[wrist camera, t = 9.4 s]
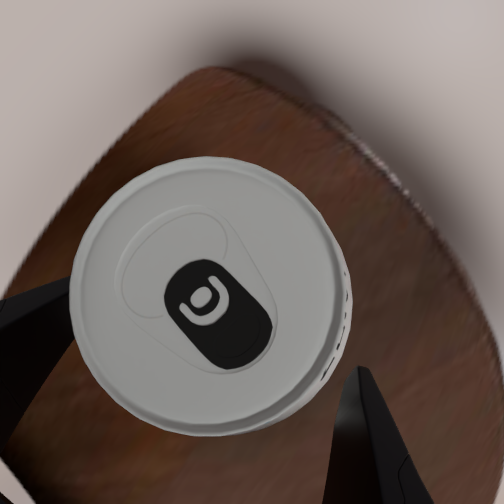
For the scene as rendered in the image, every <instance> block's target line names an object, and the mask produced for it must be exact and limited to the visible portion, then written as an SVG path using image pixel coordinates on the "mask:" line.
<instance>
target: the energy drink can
mask: <svg viewBox="0 0 504 504" xmlns="http://www.w3.org/2000/svg"><path fill="white" fill-rule="evenodd" d="M352 303H353V301H352V292H351V283H350V275H349V272H348V268H347V265H346V262H345V259H344V256H343V253H342V250H341V248H340V246H339V244H338V243H337V241H336V239H335V237H334V236H333V234H332V232H331V230H330V229H329V227H328V226H327V224H326V222H325V221H324V219H323V217H322V216H321V214H320V213H319V211H318V210H317V209H316V208H315V207H314V206H313V205H312V203H311V202H310V201H309V200H308V199H307V198H306V197H305V196H304V194H303V193H302V192H300V191H299V190H298V189H296V188H295V187H294V186H292V185H291V184H290V183H288V182H287V181H286V180H284V179H283V178H282V177H280V176H278V175H276V174H274V173H272V172H270V171H268V170H266V169H264V168H262V167H260V166H258V165H255V164H251V163H248V162H244V161H240V160H236V159H232V158H223V157H208V156H204V157H195V158H186V159H179V160H176V161H173V162H169V163H166V164H163V165H160V166H157V167H154V168H152V169H151V170H149V171H147V172H145V173H143V174H141V175H139V176H137V177H135V178H134V179H132V180H131V181H130V182H128V183H127V184H126V185H124V186H123V187H122V188H121V189H119V190H118V191H117V192H116V193H114V194H113V195H112V196H111V197H110V199H109V200H108V201H107V202H106V203H105V204H104V205H103V206H102V208H101V209H100V210H99V211H98V212H97V213H96V215H95V217H94V218H93V220H92V221H91V223H90V225H89V226H88V228H87V230H86V231H85V233H84V235H83V237H82V240H81V242H80V245H79V248H78V250H77V253H76V255H75V258H74V263H73V268H72V273H71V279H70V293H69V305H70V315H71V321H72V326H73V332H74V336H75V339H76V341H77V344H78V347H79V349H80V352H81V354H82V357H83V359H84V361H85V363H86V364H87V366H88V368H89V369H90V371H91V373H92V374H93V376H94V377H95V379H96V380H97V382H98V383H99V384H100V385H101V387H102V388H103V389H104V390H105V391H106V392H107V393H108V394H109V395H110V396H111V397H112V398H113V399H114V400H115V401H116V402H117V403H118V404H119V405H121V406H122V407H123V408H125V409H126V410H128V411H129V412H130V413H132V414H133V415H135V416H136V417H138V418H139V419H141V420H143V421H145V422H148V423H150V424H152V425H154V426H157V427H159V428H161V429H164V430H167V431H171V432H176V433H180V434H185V435H190V436H224V435H239V434H243V433H248V432H252V431H256V430H261V429H264V428H266V427H268V426H270V425H273V424H275V423H277V422H279V421H281V420H283V419H285V418H287V417H289V416H290V415H292V414H293V413H294V412H296V411H297V410H299V409H300V408H301V407H302V406H304V405H305V404H306V403H308V402H309V401H310V400H311V399H312V398H313V397H314V396H315V395H316V393H317V392H318V391H319V390H320V389H321V388H322V387H323V385H324V384H325V383H326V382H327V381H328V380H329V378H330V376H331V374H332V373H333V371H334V369H335V367H336V365H337V364H338V362H339V360H340V358H341V356H342V354H343V351H344V347H345V344H346V341H347V338H348V334H349V331H350V325H351V314H352Z"/></svg>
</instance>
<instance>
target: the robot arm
mask: <svg viewBox="0 0 504 504" xmlns="http://www.w3.org/2000/svg"><path fill="white" fill-rule="evenodd" d="M70 279H71V276H68V277H65V278H62V279H59V280H57V281H54V282H51V283H48V284H45V285H42V286H39V287H37V288H34V289H31V290H28V291H25V292H23V293H20V294H17V295H14V296H11V297H9V298H7V299H3V300H0V453H1V452H2V450H3V449H4V447H5V445H6V443H7V442H8V440H9V438H10V436H11V435H12V433H13V431H14V430H15V428H16V426H17V425H18V423H19V421H20V420H21V418H22V416H23V415H24V412H25V411H26V410H27V408H28V406H29V405H30V403H31V402H32V400H33V399H34V397H35V395H36V394H37V392H38V391H39V389H40V388H41V386H42V385H43V383H44V382H45V380H46V379H47V377H48V376H49V374H50V373H51V371H52V370H53V368H54V367H55V365H56V364H57V363H58V361H59V360H60V358H61V357H62V355H63V354H64V353H65V351H66V350H67V348H68V347H69V346H70V344H71V343H72V341H73V340H74V339H75V336H74V332H73V326H72V321H71V315H70V305H69V293H70ZM408 453H409V452H408V450H407V448H406V446H405V443H404V441H403V439H402V437H401V435H400V432H399V430H398V428H397V426H396V424H395V422H394V419H393V417H392V415H391V413H390V411H389V409H388V407H387V405H386V403H385V400H384V398H383V396H382V394H381V392H380V390H379V388H378V386H377V384H376V382H375V380H374V378H373V376H372V374H371V372H370V370H369V369H368V368H366V367H362V366H356V367H355V368H354V369H353V371H352V372H351V373H350V375H349V376H348V377H347V379H346V380H345V383H344V386H343V390H342V395H341V399H340V404H339V408H338V412H337V416H336V420H335V425H334V431H333V439H332V446H331V453H330V460H329V467H328V473H327V479H326V485H325V490H324V496H323V501H322V504H435V503H434V502H433V500H432V498H431V496H430V494H429V493H428V491H427V489H426V487H425V485H424V483H423V482H422V480H421V478H420V476H419V474H418V472H417V470H416V468H415V465H414V463H413V461H412V459H411V457H410V455H409V454H408ZM0 504H13V503H12V502H11V501H10V500H9V499H7V498H6V497H5V496H4V495H3V494H2V493H1V492H0Z"/></svg>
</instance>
